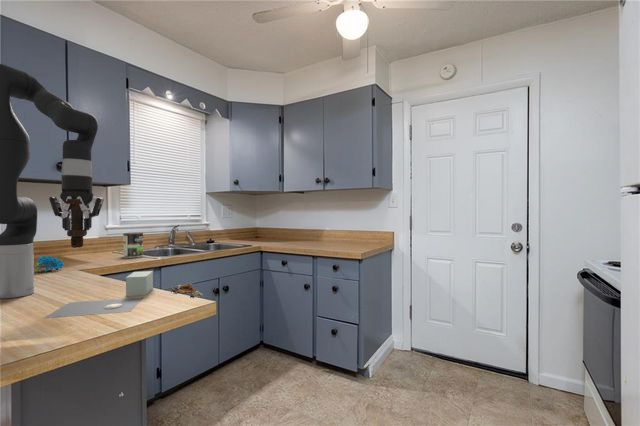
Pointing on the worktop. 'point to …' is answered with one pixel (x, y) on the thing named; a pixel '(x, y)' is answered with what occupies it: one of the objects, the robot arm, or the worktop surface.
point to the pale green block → (139, 283)
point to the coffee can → (133, 245)
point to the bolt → (76, 223)
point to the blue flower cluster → (48, 263)
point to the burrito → (186, 290)
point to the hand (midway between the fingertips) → (77, 230)
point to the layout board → (95, 307)
